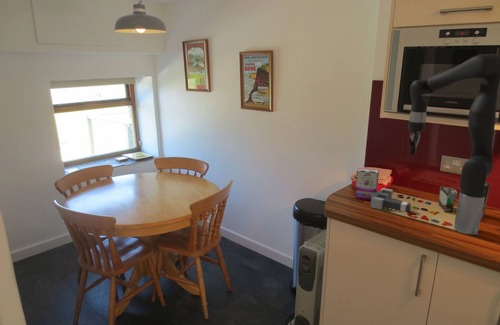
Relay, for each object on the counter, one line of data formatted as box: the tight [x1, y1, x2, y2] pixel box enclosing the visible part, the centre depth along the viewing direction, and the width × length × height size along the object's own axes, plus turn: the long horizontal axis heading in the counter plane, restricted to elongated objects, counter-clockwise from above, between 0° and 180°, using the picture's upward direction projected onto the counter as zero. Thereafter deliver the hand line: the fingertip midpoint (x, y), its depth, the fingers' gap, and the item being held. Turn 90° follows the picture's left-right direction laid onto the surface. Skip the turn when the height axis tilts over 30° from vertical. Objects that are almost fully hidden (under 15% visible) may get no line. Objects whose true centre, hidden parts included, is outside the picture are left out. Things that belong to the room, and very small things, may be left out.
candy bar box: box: [354, 167, 380, 201], centre depth 185 cm, size 11×5×16 cm, turn 67°
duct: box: [370, 187, 394, 210], centre depth 181 cm, size 6×19×6 cm, turn 143°
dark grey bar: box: [379, 197, 412, 214], centre depth 173 cm, size 16×4×4 cm, turn 53°
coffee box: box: [481, 182, 491, 220], centre depth 164 cm, size 9×6×16 cm
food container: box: [437, 186, 459, 213], centre depth 172 cm, size 12×6×10 cm, turn 168°
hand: (412, 154), depth 174 cm, fingers closed
